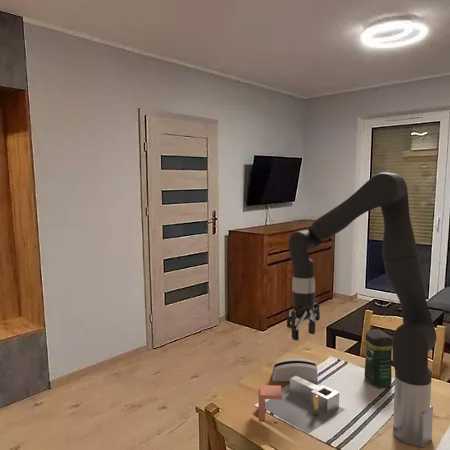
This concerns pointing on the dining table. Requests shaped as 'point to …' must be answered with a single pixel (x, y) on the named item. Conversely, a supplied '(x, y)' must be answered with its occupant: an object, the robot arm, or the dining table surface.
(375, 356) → the coffee jar
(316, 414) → the knob
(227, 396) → the dining table surface
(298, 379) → the grey long bar
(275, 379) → the grey arched slotted block
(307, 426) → the board
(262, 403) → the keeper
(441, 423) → the dining table surface
